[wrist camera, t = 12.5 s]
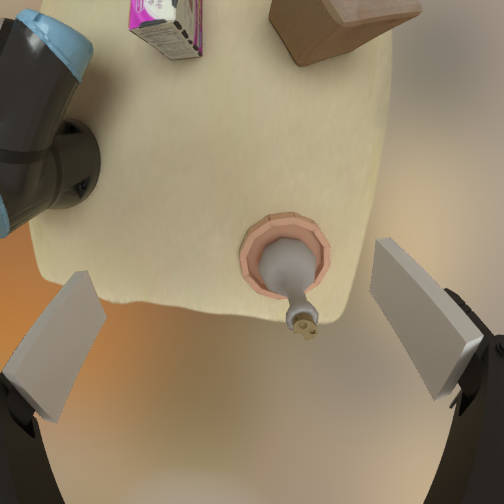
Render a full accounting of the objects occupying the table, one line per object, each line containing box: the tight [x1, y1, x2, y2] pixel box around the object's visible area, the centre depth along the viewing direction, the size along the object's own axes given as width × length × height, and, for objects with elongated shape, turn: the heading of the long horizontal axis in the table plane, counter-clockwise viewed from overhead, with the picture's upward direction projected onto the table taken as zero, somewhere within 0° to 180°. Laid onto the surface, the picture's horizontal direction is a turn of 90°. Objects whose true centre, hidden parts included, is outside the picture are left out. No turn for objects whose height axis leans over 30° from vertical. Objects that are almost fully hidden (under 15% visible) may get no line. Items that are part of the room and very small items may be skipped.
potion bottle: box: [258, 237, 319, 340], centre depth 36 cm, size 9×9×18 cm
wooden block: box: [269, 0, 422, 66], centre depth 21 cm, size 10×10×20 cm
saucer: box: [240, 212, 330, 300], centre depth 44 cm, size 14×14×2 cm
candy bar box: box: [128, 0, 202, 60], centre depth 22 cm, size 11×5×16 cm, turn 2°
